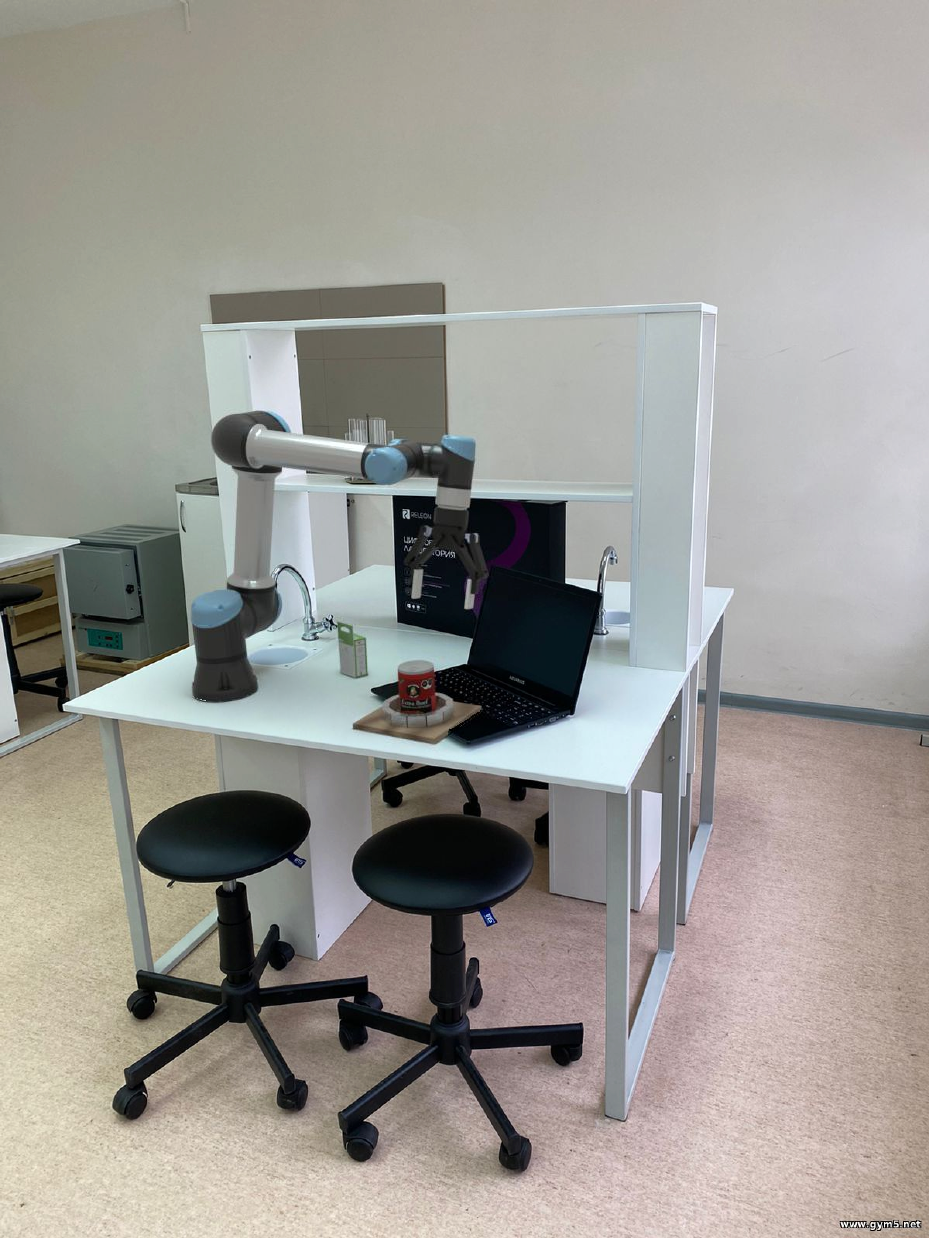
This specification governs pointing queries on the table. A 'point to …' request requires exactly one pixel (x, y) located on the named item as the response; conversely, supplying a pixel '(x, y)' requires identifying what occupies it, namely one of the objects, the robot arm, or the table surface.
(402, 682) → the canned food
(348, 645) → the ink box
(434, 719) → the collar
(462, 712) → the board
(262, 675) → the table surface
